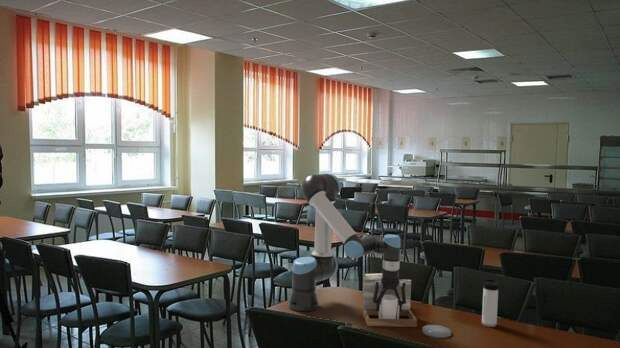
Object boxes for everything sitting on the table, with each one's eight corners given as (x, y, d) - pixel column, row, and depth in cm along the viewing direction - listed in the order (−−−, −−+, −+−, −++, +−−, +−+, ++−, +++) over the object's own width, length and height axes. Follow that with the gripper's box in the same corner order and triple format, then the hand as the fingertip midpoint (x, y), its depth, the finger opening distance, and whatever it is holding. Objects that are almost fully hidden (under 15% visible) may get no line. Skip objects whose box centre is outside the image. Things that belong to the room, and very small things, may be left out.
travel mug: (496, 322, 213) (498, 279, 212) (496, 328, 207) (499, 283, 206) (481, 320, 215) (483, 278, 214) (481, 325, 209) (483, 282, 208)
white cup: (396, 322, 209) (398, 301, 208) (379, 320, 210) (380, 299, 210) (397, 316, 217) (398, 295, 216) (380, 314, 218) (381, 293, 217)
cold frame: (362, 313, 221) (363, 278, 220) (408, 314, 221) (410, 279, 220) (367, 325, 206) (368, 288, 205) (416, 326, 206) (418, 289, 205)
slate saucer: (419, 326, 206) (419, 324, 206) (445, 327, 207) (446, 324, 207) (426, 337, 195) (426, 335, 194) (455, 338, 195) (455, 336, 195)
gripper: (369, 270, 208) (367, 320, 209) (415, 272, 208) (412, 321, 210) (367, 266, 215) (365, 314, 217) (411, 267, 216) (408, 315, 217)
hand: (388, 318), depth 213 cm, fingers closed on white cup, 7 cm apart
